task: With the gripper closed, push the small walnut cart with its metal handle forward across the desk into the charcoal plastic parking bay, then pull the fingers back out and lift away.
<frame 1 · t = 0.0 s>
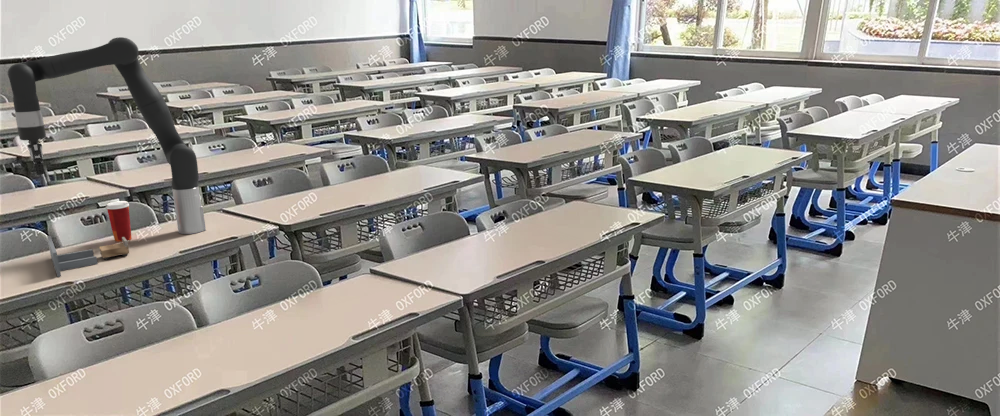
hand: (39, 172, 239), 29 cm above the table, fingers open, 8 cm apart
parking bay: (76, 263, 237), on the table
paper cup: (123, 240, 263), on the table
walnut cart: (115, 256, 243), on the table
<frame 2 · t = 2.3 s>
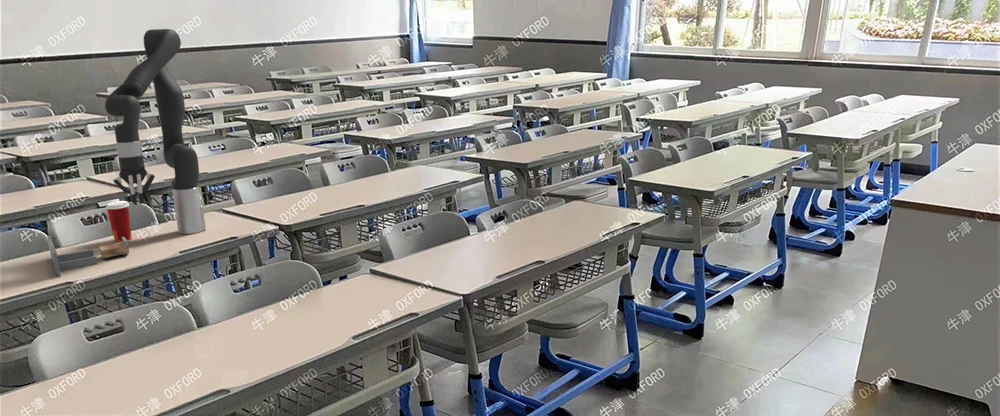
hand: (138, 203, 244), 17 cm above the table, fingers closed
nothing on the table moved.
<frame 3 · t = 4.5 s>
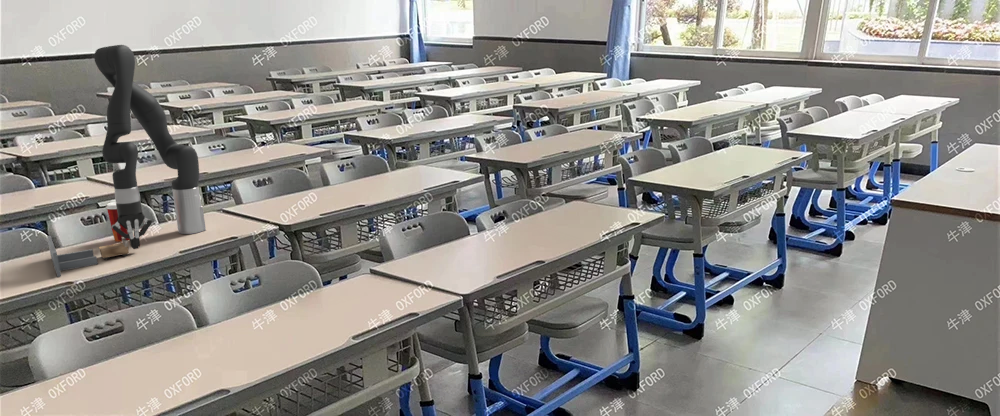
hand: (135, 248, 246), 2 cm above the table, fingers closed
walnut cart: (115, 256, 243), on the table, touching gripper
everything else where it was.
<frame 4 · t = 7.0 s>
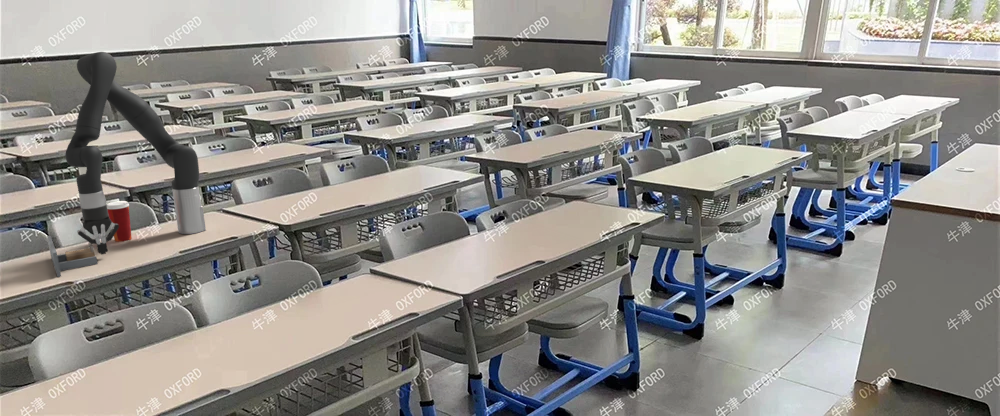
hand: (103, 253, 241), 2 cm above the table, fingers closed
walnut cart: (81, 262, 238), resting in parking bay, touching gripper
everything else where it was.
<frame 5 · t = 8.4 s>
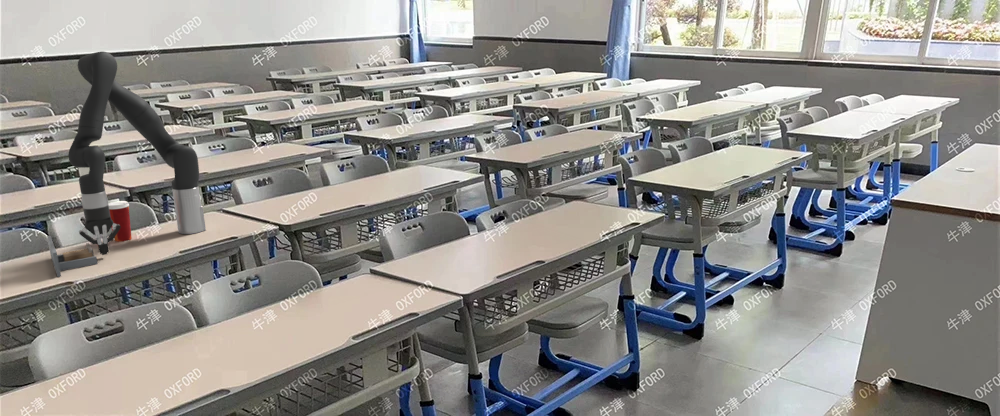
hand: (104, 254, 241), 1 cm above the table, fingers closed
walnut cart: (79, 262, 237), resting in parking bay
everything else where it was.
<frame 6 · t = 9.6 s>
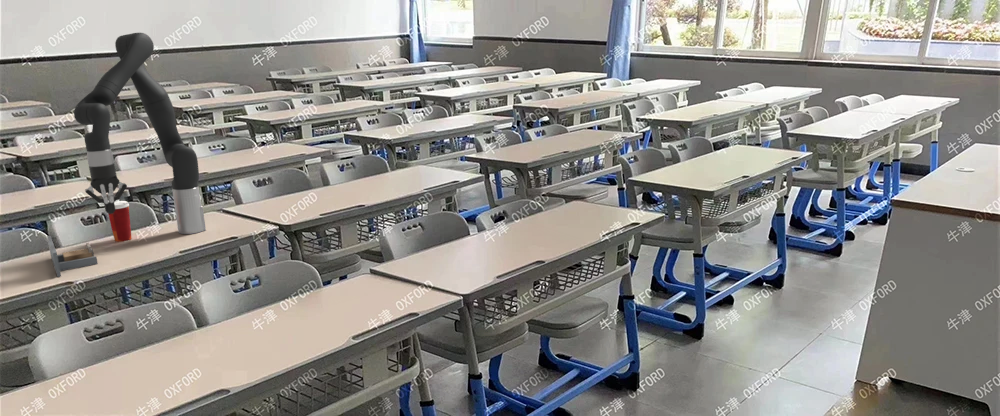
hand: (110, 213, 240), 15 cm above the table, fingers closed
nothing on the table moved.
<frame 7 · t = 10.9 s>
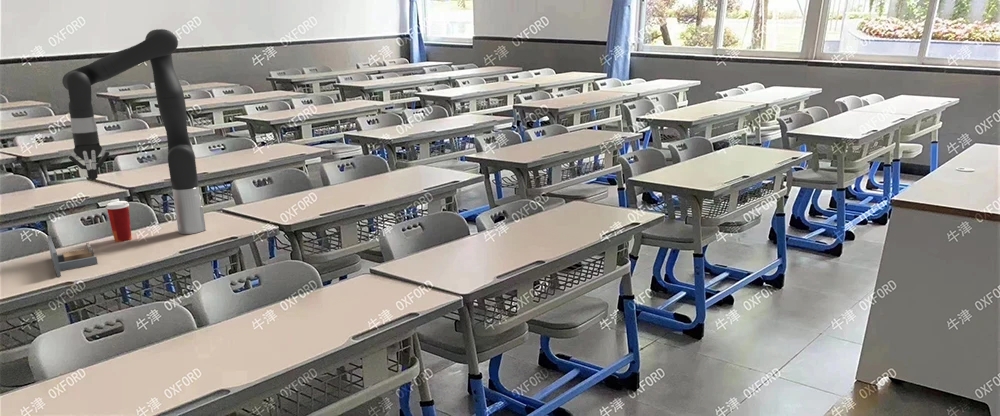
hand: (93, 179, 246), 25 cm above the table, fingers closed
nothing on the table moved.
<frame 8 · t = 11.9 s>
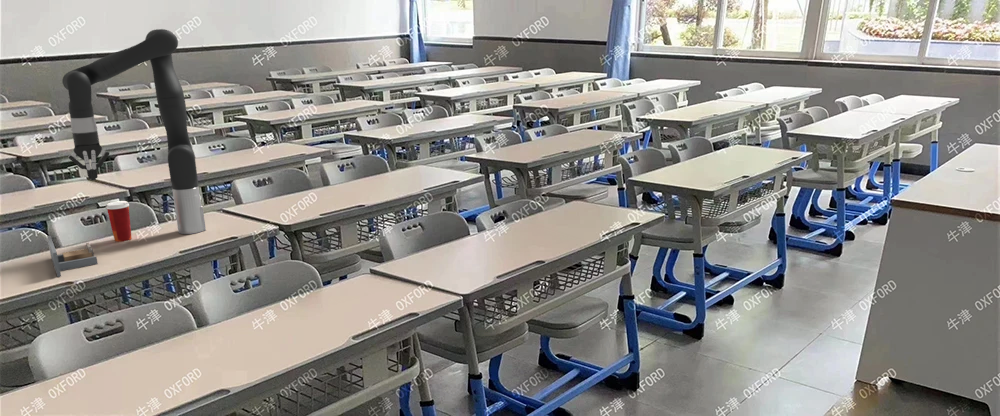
hand: (93, 179, 246), 25 cm above the table, fingers closed
nothing on the table moved.
at the end: walnut cart 0.5 cm off-centre on the parking bay, point 0.0 cm above the parking bay's base; walnut cart tilted 0° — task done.
